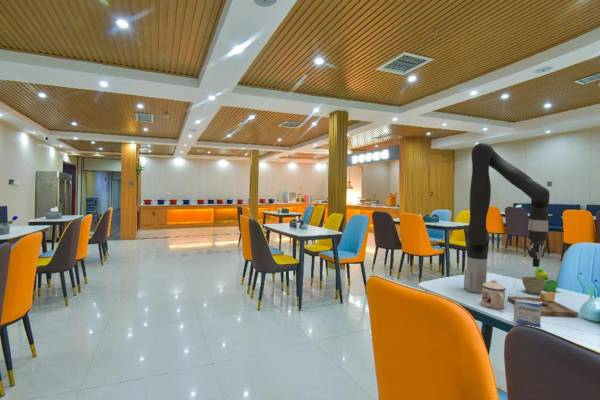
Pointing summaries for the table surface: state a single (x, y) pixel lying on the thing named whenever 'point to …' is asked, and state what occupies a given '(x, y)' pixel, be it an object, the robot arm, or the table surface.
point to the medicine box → (527, 312)
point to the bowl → (533, 284)
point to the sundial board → (550, 308)
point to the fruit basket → (550, 283)
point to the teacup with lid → (493, 295)
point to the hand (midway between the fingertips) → (536, 266)
